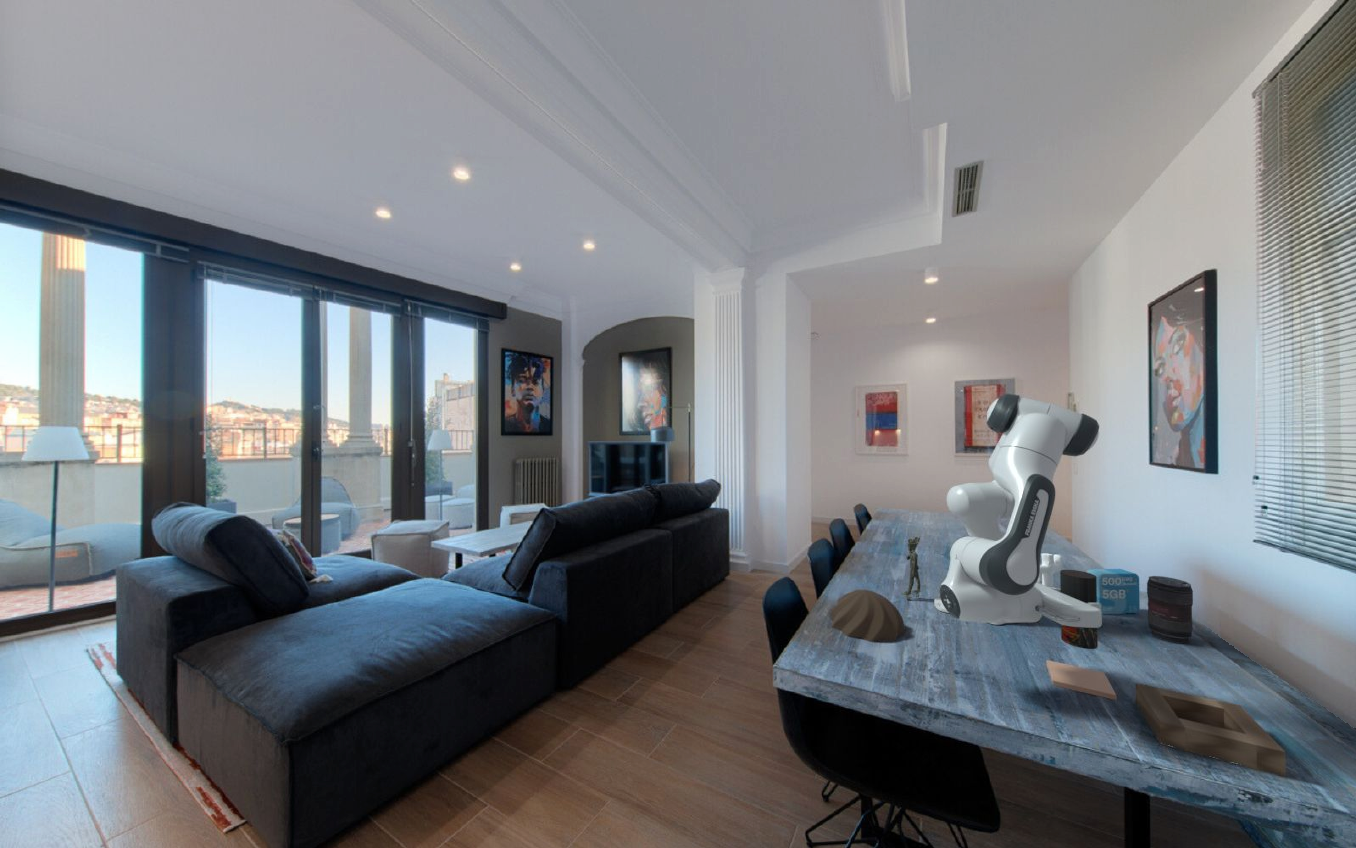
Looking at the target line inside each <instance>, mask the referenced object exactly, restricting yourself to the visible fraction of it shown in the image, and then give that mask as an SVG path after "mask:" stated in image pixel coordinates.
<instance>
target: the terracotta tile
mask: <svg viewBox="0 0 1356 848" xmlns="http://www.w3.org/2000/svg"><path fill="white" fill-rule="evenodd" d="M1045 660H1046V659H1045ZM1045 664H1046V668H1047V671H1048V674H1049V676H1050V680H1051V682H1052V686H1055V687H1059V688H1064V689H1067V690H1072V691H1077V692H1081V693H1085V694H1088V695H1093V696H1096V697H1101V698H1106V699H1110V700H1114V701H1117V696H1118V695H1117V693H1116V691H1115V690H1114V688H1113V686H1112V685H1111V683H1110V681H1109V679H1108V677H1107V676H1106V674H1105V672H1104V671H1099V670H1094V669H1091V668H1090V669H1089V668H1086V667H1085V668H1084V667H1081V666H1080V667H1079V666H1076V665H1072V664H1067V663H1062V662H1057V661H1053V660H1048V659H1047V660H1046V663H1045Z"/></svg>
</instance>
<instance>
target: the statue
mask: <svg viewBox="0 0 1356 848" xmlns="http://www.w3.org/2000/svg"><path fill="white" fill-rule="evenodd" d="M920 540H921V538H920V537H917V536H915V537H914V538H913V539H912V538H909V539H908V540H907V541H908V543H907V547H908V548H907V550H908V553H909V554H908V555H906V557H905V558H906V560H907V561H909V566H910V567H909V568H910V572H909V583H908V588H907V591H905V592H902V593H901V594H902V595H903V596H906V600H909V601H910V599H911V595H912V594H914V593H915V597H916V598H919V597H920V593H921V580H920V577H919V576H920V575H919V569H920V568H919V567H920V566H919V564H918V559H919V555H918V553H917V552H916V549H917V547H918V545H919V542H920ZM914 580H915V581H914ZM914 582H915V583H916V589H914V590H913V587H914V584H915V583H914Z"/></svg>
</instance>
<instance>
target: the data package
mask: <svg viewBox="0 0 1356 848" xmlns="http://www.w3.org/2000/svg"><path fill="white" fill-rule="evenodd" d="M1086 572H1087V573H1091V574H1093V575H1095V576H1096V580H1097V603H1099V604H1101V612H1102V615H1127V614H1126V613H1134V614H1135V613H1136V614H1138V613H1139V612H1140V610H1141V609H1140V607H1141V605H1140V601H1141V600H1140V598H1141V597H1140V577H1139V575H1138V574H1137V573H1135V572H1132V571H1129V570H1126V569H1122V568H1093V569H1092V568H1091V569H1088V570H1086ZM1134 614H1133V615H1134ZM1136 614H1135V615H1136Z"/></svg>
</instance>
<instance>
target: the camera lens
mask: <svg viewBox="0 0 1356 848" xmlns="http://www.w3.org/2000/svg"><path fill="white" fill-rule="evenodd" d="M1193 592H1194V590H1193V588H1192V585H1191V583H1189V582H1188V581H1185V580H1181V579H1178V578H1174V577H1168V576H1162V575H1161V576H1160V575H1152V576H1148V579H1147V583H1146V594H1147V600H1148V601H1147V608H1148V609H1147V610H1148V611H1147V621H1148V627H1149V628H1150V631H1151V635H1152V636H1153V637H1156V638H1157V639H1160V640H1163V641H1166V642H1171V643H1175V644H1190V639H1191V637H1192V635H1193V634H1192V633H1193V628H1194V627H1193V624H1194V623H1193V604H1194V603H1193V602H1194V593H1193Z"/></svg>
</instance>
